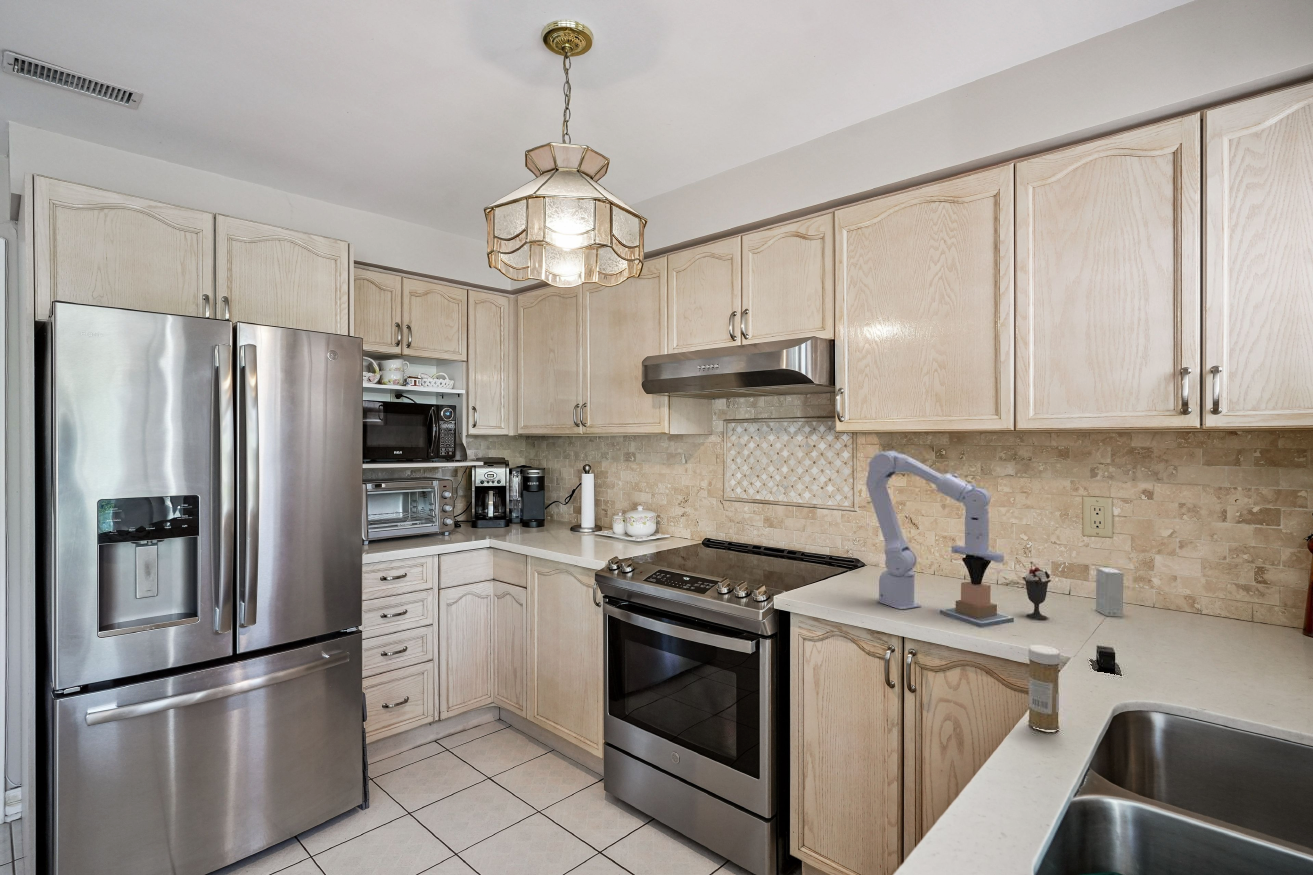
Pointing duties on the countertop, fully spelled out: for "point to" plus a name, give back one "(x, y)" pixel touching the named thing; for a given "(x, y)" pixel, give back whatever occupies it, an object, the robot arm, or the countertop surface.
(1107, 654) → the black blocky piece
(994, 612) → the blueprint board
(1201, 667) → the countertop surface
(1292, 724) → the countertop surface
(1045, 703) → the sprinkles bottle
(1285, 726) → the countertop surface
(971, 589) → the terracotta block
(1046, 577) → the sundae
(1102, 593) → the skincare box
